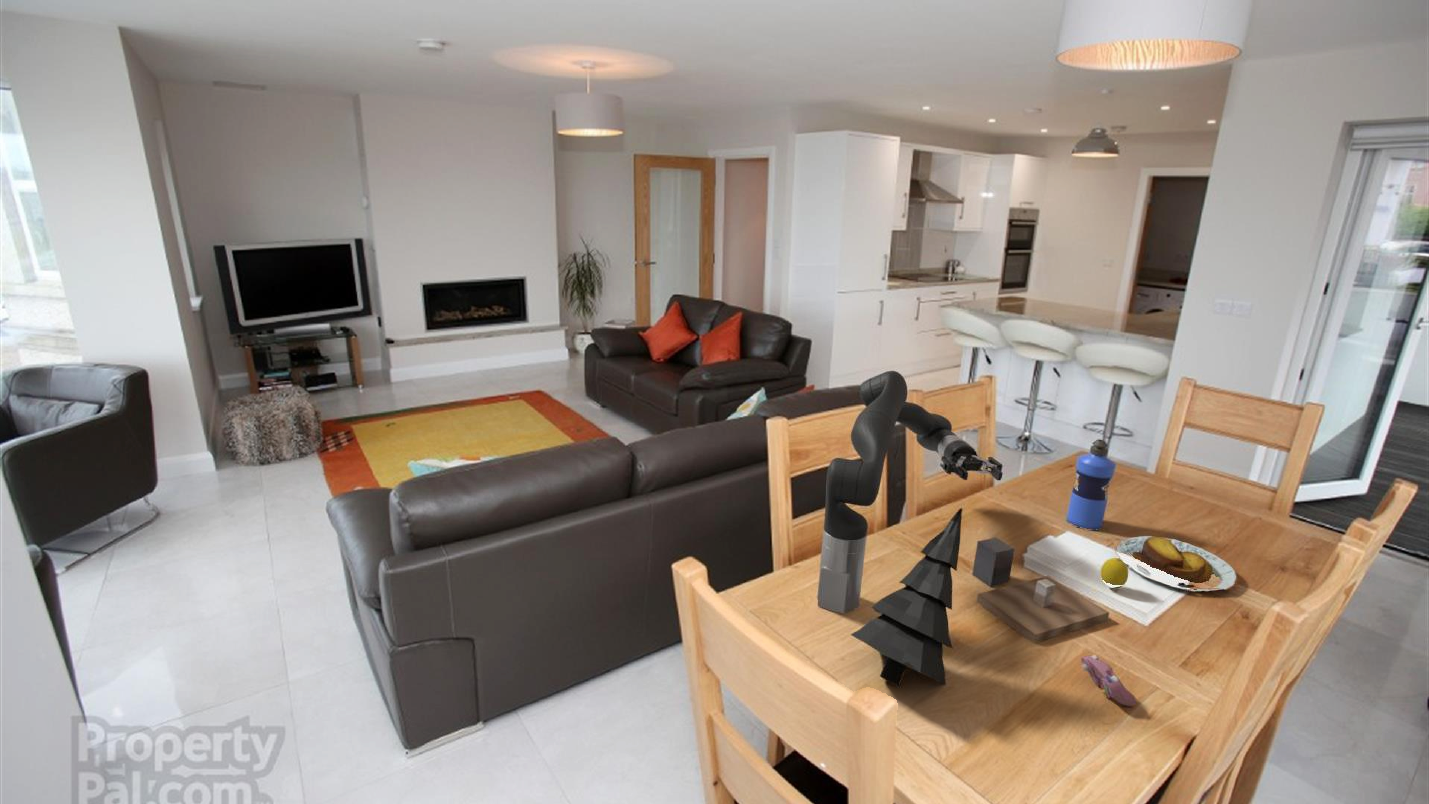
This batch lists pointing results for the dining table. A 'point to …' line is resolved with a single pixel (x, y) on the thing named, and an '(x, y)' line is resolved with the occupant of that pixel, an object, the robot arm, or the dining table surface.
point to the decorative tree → (918, 612)
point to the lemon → (1114, 571)
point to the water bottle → (1091, 487)
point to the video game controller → (1107, 680)
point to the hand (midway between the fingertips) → (983, 476)
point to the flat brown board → (1042, 608)
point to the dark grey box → (993, 561)
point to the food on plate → (1179, 560)
